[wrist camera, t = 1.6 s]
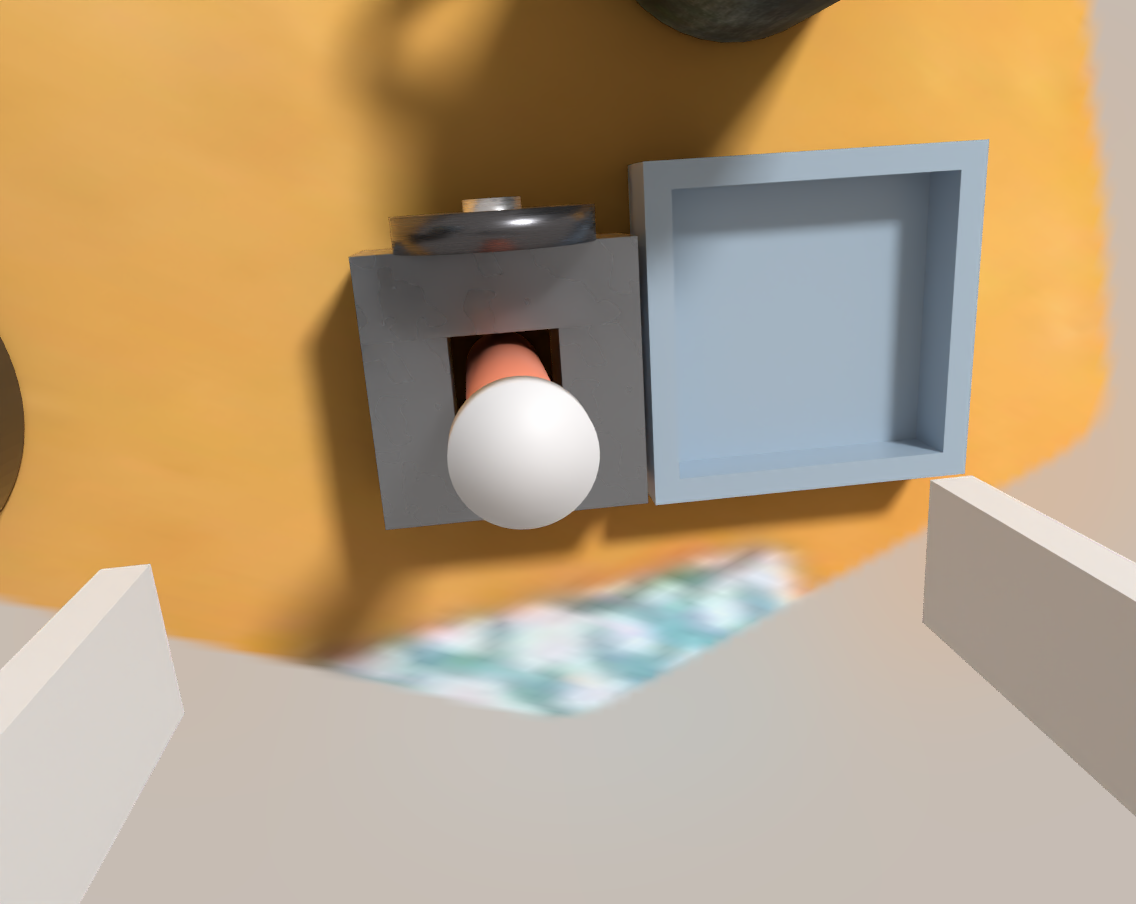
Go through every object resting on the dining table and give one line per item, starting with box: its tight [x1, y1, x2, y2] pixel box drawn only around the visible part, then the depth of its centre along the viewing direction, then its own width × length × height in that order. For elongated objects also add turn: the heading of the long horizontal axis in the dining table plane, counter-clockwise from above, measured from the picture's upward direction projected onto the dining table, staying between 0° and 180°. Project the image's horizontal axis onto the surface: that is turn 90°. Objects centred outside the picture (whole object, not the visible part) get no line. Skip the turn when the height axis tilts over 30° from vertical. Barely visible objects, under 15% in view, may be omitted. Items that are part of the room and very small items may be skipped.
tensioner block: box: [349, 196, 648, 530], centre depth 31 cm, size 10×12×8 cm
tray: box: [628, 139, 989, 505], centre depth 34 cm, size 13×13×3 cm
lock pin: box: [447, 332, 600, 530], centre depth 28 cm, size 4×4×13 cm
